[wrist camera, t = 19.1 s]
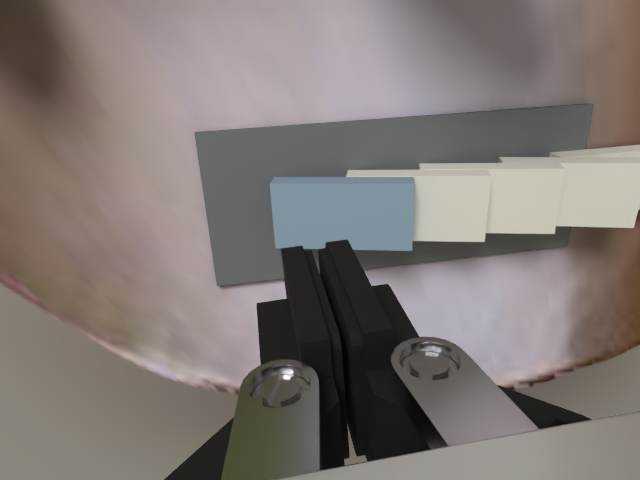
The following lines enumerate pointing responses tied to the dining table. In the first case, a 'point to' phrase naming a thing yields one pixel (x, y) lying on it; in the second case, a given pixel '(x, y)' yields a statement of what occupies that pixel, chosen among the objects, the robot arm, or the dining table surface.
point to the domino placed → (343, 212)
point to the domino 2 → (518, 195)
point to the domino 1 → (445, 202)
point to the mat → (366, 154)
